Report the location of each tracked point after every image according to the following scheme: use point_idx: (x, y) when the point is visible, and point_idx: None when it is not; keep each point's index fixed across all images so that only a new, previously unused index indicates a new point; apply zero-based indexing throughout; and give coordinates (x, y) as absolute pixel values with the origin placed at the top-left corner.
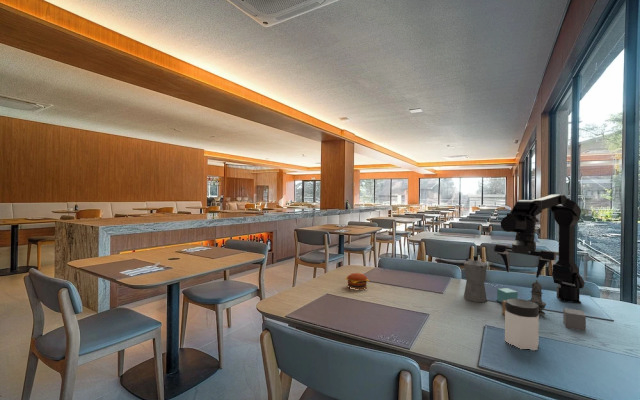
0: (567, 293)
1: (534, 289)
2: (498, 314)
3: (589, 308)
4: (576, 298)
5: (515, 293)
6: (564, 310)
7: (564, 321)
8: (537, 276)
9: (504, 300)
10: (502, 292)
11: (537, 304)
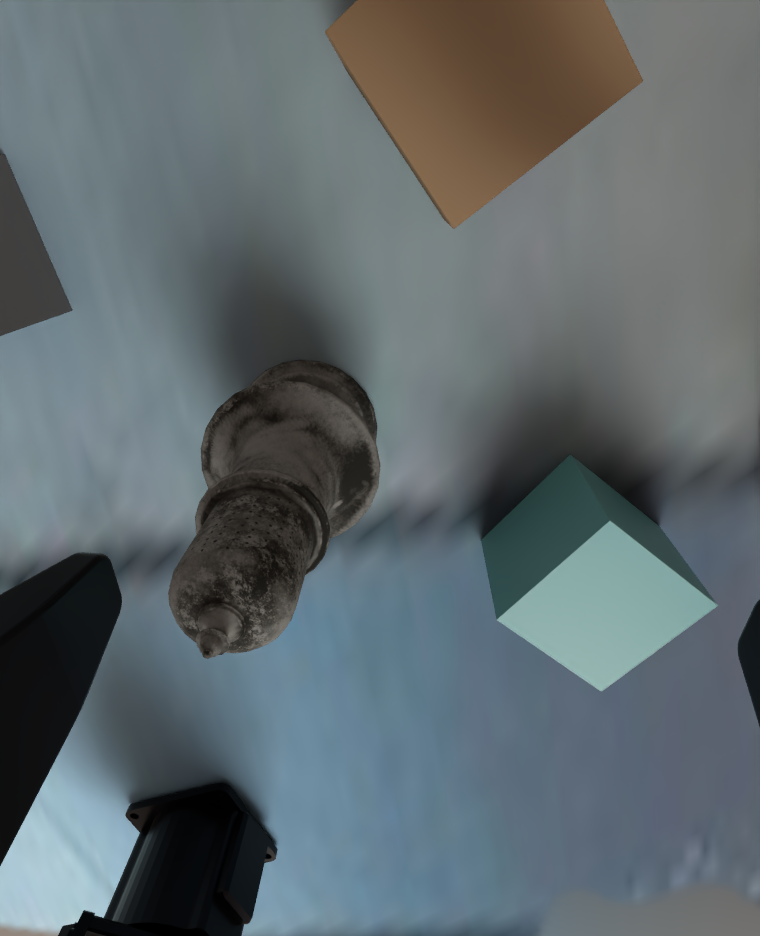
0: (177, 857)
1: (263, 512)
2: (621, 30)
3: (65, 745)
4: (145, 838)
5: (513, 592)
6: None
7: (20, 238)
8: (60, 565)
9: (611, 96)
10: (648, 544)
11: (262, 397)
